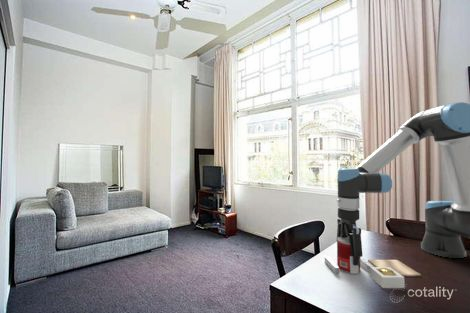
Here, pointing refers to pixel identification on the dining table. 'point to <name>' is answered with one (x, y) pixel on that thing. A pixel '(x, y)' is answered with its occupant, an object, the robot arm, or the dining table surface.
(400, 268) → the mat
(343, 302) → the dining table surface
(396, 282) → the plunger block
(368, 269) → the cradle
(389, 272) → the plunger
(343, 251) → the canned food
